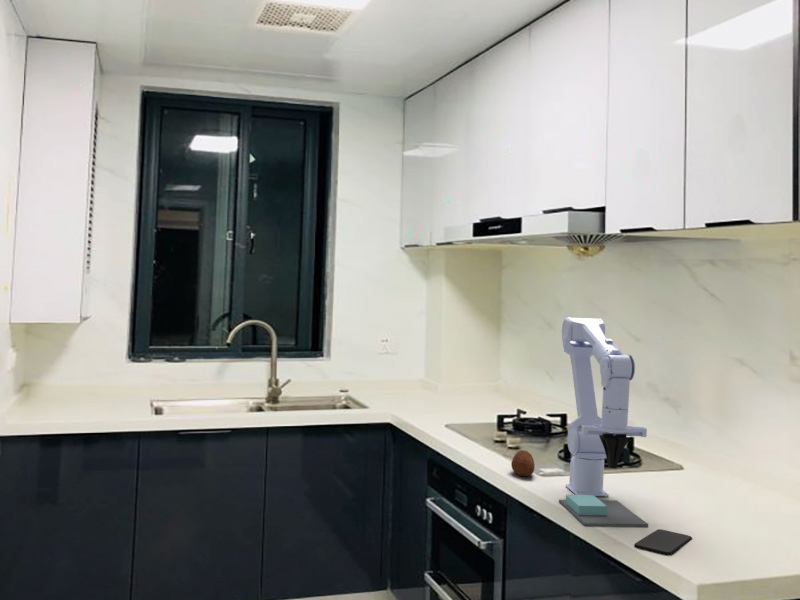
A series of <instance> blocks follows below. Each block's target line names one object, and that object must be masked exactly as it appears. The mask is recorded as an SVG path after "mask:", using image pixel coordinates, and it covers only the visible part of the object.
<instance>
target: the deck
mask: <svg viewBox="0 0 800 600" xmlns="http://www.w3.org/2000/svg"><path fill="white" fill-rule="evenodd" d="M565 500H566V504H567V505H568V506H569V507H570V508H572V509H573V510H574V511H575V512H576V513H577V514H578V515H607V506H606V505H605V504H604V503H603V502H601V501H600V500H601V499H599V498H598V497H597V496H594V495H576V494H566V496H565Z"/></svg>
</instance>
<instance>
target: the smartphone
mask: <svg viewBox="0 0 800 600" xmlns="http://www.w3.org/2000/svg"><path fill="white" fill-rule="evenodd" d="M692 540H693V537H692V536H691V535H688V534H683V533H678V532H675V531H672V530H671V531H669V530H666V529H660V528H659V529H657V530H654V531H653V532H652V533H650V534H648V535H646V536H645V537H643V538H642V539H640V540H639V541H637V542H635V543H634V544H633V546H634V548H636V549H638V550H641V551H642V550H643V551H646V552H651V553H654V554H659V555H663V556H668V555H670V556H672V555H674V554H675V553H677V552H678V551H679V550H680V549H682V548H683V547H684V546H685V545H687V543H689V542H691V541H692ZM676 551H677V552H676Z"/></svg>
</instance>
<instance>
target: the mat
mask: <svg viewBox="0 0 800 600" xmlns="http://www.w3.org/2000/svg"><path fill="white" fill-rule="evenodd" d="M599 500H600V501H601V502H603V503H604V504H605V505H606V506H607V515H578V514H577V513H576V512H575V511H574V510H573V509H572V508H570V507H569V506H568V505H567V504H566V499H558V503H559V504H560V505H562V507H563V508H565V509H566V511H568V513H569V514H571V515H572V516H573V517H574V518H575V519H576V520H577V521H578V522H579V523H580V524H581V525H582V526H583V527H625V528H627V527H628V528H629V527H630V528H631V527H635V528H639V527H640V528H649V523H648V522H647V521H645V520H644V519H643V518H641V517H640V516H638V515H637V514H636V513H635V512H633V511H631V510H630V509H629V508H628V507H626V506H625V505H624V504H622V503H621V502H620V501H618V500H614V499H612V500H608V499H607V500H606V499H603V500H601V499H599Z"/></svg>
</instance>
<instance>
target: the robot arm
mask: <svg viewBox="0 0 800 600" xmlns="http://www.w3.org/2000/svg"><path fill="white" fill-rule="evenodd" d="M561 325H562V327H561V339H562V340H561V342H562V348H563V352H565V353H566V354H567V355H568V356H569V359H570V363H571V364H570V365H571V371H572V379H573V388H574V396H575V405H576V413H577V418H575V419H574V420H573V421H571V422H570V423H569V425H568V428H567V434H568V435H567V447H568V451H569V452H570V454H571V455H573V456H572V457H571V459H570V463H569V481H568V482H569V483H566V484H565V487H566V488H567V489H568V490H570V491H571V492H572V493H573V494H574V495H594V496H595V497H609V495H610V494H609V493H607V492H606V491H605V490H604V475H605V473H604V470H605V459H606V462H607V467H608V468H609V469H617V467H618V464H619V461H620V458H621V455H622V453H623V451H624V449H625V448H626V446H627V444H628V442H629V437H642V438H647V435H648V434H647V432H648V429H647V428H646V427H644V426H632V425H628V419H629V404H630V403H629V402H630V399H629V398H630V384H631V383H630V381H632V380H633V379H634V377H635V373H636V364H635V359H634V358H633V355H632V354H624V353H623V352H622V351H621V350H620V348H619V346H618V345H617V344H616V343H615V342H614V341H613V339H612V338H607V337H606V324H605V322H604V320H603V319H602V318H598V317H597V318H586V317H585V318H584V317H570V316H567V317H565V319H564V320H563V322H562V324H561ZM592 356H593V357H594V358H595V360H596V361H597V363H598V364H599V372H600V379H601V383H600V384H601V387H602V400H601V401H602V404H601V405H602V406H601V417H600V416H599V415H598V409H597V401H596V392H595V385H594V380H593V379H594V377H593V370H592V362H591V357H592Z"/></svg>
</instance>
